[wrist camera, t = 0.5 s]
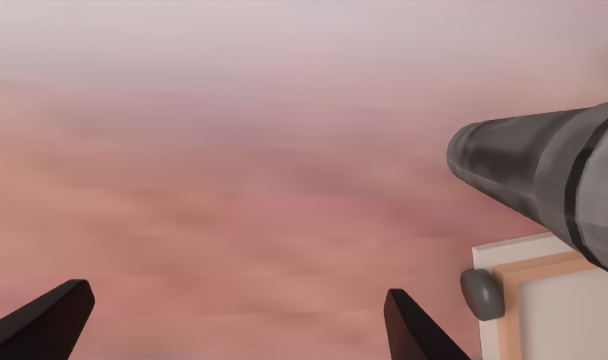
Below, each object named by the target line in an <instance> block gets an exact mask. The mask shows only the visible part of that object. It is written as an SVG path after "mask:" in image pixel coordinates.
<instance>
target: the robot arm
mask: <svg viewBox="0 0 608 360" xmlns="http://www.w3.org/2000/svg"><path fill="white" fill-rule="evenodd" d="M94 304H95V298H94V295H93V292H92V290H91V287H90V285H89V282H88V281H87V280H84V279H71V280H68V281H66V282H65V283H63V284H61V285H59V286H58V287H56V288H54V289H52V290H51V291H49V292H47V293H45V294H44V295H42V296H40V297H38V298H37V299H35V300H33V301H31V302H30V303H28V304H26V305H24V306H23V307H21V308H19V309H17V310H16V311H14V312H12V313H10V314H9V315H7V316H5V317H3V318H2V319H0V360H68V358H69V356H70V354H71V352H72V350H73V348H74V346H75V344H76V342H77V340H78V338H79V336H80V334H81V332H82V330H83V328H84V326H85V324H86V322H87V320H88V318H89V316H90V314H91V312H92V310H93V307H94ZM384 318H385V324H386V329H387V335H388V341H389V347H390V353H391V358H392V360H471V359H470V358H469V357H468V356H467V355H466V354H465V352H464V351H463V350H462V349H461V348H460V347H459V346H458V345H457V344H456V343H455V342H454V341H453V340H452V339H451V338H450V337H449V336H448V335H447V334H446V333H445V332H444V331H443V330H442V329H441V328H440V327H439V326H438V325H437V324H436V323H435V322H434V321H433V320H432V318H431V317H430V316H429V315H428V314H427V313H426V312H425V311H424V310H423V309H422V308H421V307H420V306H419V305H418V304H417V303H416V302H415V301H414V300H413V299H412V298H411V297H410V296H409V295H408V294H407V293H406V292H405V291H404V290H403V289H392V288H391V289H389V290H388V293H387V297H386V301H385V305H384Z"/></svg>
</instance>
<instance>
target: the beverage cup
mask: <svg viewBox="0 0 608 360" xmlns="http://www.w3.org/2000/svg"><path fill="white" fill-rule="evenodd" d="M447 163H448V165H449V168H450V170H451V171H452V172H453V174H454V175H455V176H456V177H458V178H460V179H461V180H463V181H465V183H467V184H468V185H470V186H472V187H474V188H476V189H477V190H479V191H481V192H483V193H485V194H486V195H488V196H490V197H492V198H494V199H495V200H497V201H499V202H501V203H503V204H504V205H506V206H508V207H510V208H512V209H514V210H515V211H517V212H519V213H521V214H523V215H524V216H526V217H528V218H530V219H532V220H533V221H535V222H537V223H539V224H541V225H542V226H544V227H546V228H548V229H549V230H550V231H551V232H552V233H553V234H554V235H555V236H556V237H557V238H559V239H560V240H562V241H563V242H564V243H566V244H567V245H568V246H570V247H571V248H572V249H574V250H576V251H578V252H580V253H581V254H582V255H583V256H584V257H585V258H586V259H587V260H588V262H590V263H592V264H594V265H595V266H597V267H599V268H601V269H603V270H605V271H607V272H608V102H607V103H603V104H599V105H597V106H595V107H591V108H583V109H575V110H567V111H559V112H551V113H543V114H535V115H527V116H520V117H512V118H504V119H496V120H489V121H483V122H480V123H474V124H470V125H468V126H466V127H464V128H462V129H461V130H460V131H458V132H457V133H456V134H455V135H454V137H453V138H452V140H451V142H450V143H449V147H448V150H447Z"/></svg>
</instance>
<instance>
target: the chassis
mask: <svg viewBox="0 0 608 360" xmlns="http://www.w3.org/2000/svg"><path fill="white" fill-rule="evenodd" d="M472 252H473V263H474V270H470V271H464V272H463V273H462V274H461V279H460V281H461V288H462V292H463V295H464V298H465V300H466V302H467V304H468V306H469V308H470V309H471V311H472V312H473V314H474V315H475V316H476V317H477V318H478V319H479V327H480V338H481V349H482V359H483V360H608V272H607V271H605V270H603V269H601V268H599V267H597V266H595V265H594V264H592V263H590V262H588V260H587V259H586V258H585V257H584V256H583V255H582V254H581V253H580V252H578V251H576V250H574V249H572V248H571V247H570V246H568V245H567V244H566V243H564V242H563V241H562V240H560V239H559V238H557V237H556V236H555V235H554V234H553V233H552V232H551V231H550V232H545V233H540V234H535V235H530V236H524V237H519V238H514V239H509V240H504V241H499V242H494V243H489V244H484V245H478V246H473V247H472Z"/></svg>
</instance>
